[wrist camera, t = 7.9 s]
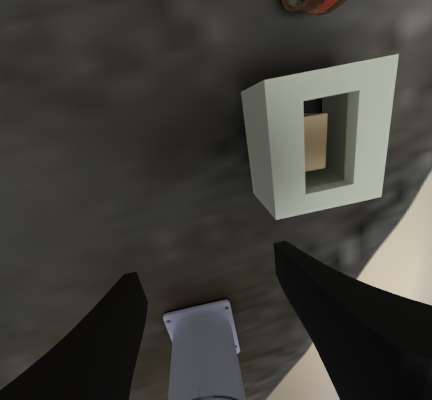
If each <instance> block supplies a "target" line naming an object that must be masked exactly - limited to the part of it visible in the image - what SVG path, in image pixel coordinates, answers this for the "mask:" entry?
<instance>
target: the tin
mask: <svg viewBox="0 0 432 400" xmlns="http://www.w3.org/2000/svg"><path fill="white" fill-rule="evenodd" d="M345 1H346V0H282V3H283V5H284V7H285V8H286V9H287V10H288V11H301V12H305V13H309V14H315V15H323V14H326V13H329V12H331V11H333V10H334V9H336V8H337V7H339V6H340V5H341V4H342V3H343V2H345Z"/></svg>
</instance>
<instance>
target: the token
mask: <svg viewBox="0 0 432 400" xmlns="http://www.w3.org/2000/svg"><path fill="white" fill-rule="evenodd" d="M327 118H328V113H315V114H304V147H305V172H306V171H311V170H317V169H322V168H325V164H326V141H327Z"/></svg>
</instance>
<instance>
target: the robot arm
mask: <svg viewBox="0 0 432 400" xmlns="http://www.w3.org/2000/svg"><path fill="white" fill-rule="evenodd" d="M274 253H275V266H276V275H277V277H278V280H279V282H280V284H281V287H282V289H283V291H284V293H285V295H286V296H287V298H288V300H289V302H290V303H291V305H292V307H293V308H294V310H295V312H296V313H297V315H298V317H299V318H300V320H301V322H302V323H303V325H304V327H305V329H306V330H307V332H308V334H309V335H310V337H311V339H312V341H313V343H314V345H315V347H316V349H317V351H318V353H319V355H320V357H321V359H322V362H323V364H324V366H325V368H326V370H327V372H328V374H329V376H330V379H331V381H332V383H333V385H334V387H335V389H336V391H337V394H338V396H339V398H340V400H432V306H431V305H428V304H424V303H421V302H418V301H414V300H411V299H407V298H405V297H401V296H398V295H395V294H392V293H390V292H387V291H384V290H381V289H379V288H376V287H373V286H371V285H368V284H366V283H363V282H361V281H359V280H356V279H354V278H352V277H349V276H347V275H345V274H343V273H341V272H339V271H337V270H335V269H333V268H331V267H329V266H327V265H325V264H323V263H322V262H320V261H318V260H316V259H314V258H313V257H311V256H309V255H308V254H306V253H304V252H303V251H301V250H299V249H298V248H296V247H295V246H293V245H291V244H290V243H288V242H286V241H282V242H277V243H274ZM147 305H148V301H147V298H146V296H145V293H144V291H143V288H142V285H141V283H140V280H139V277H138V275H137V272H133V273H128V274H124V275H123V276H122V277H121V278H120V279H119V280H118V282H117V283H116V284H115V285H114V286H113V287H112V288H111V289H110V290H109V292H108V293H107V294H106V295H105V296H104V297H103V298H102V299H101V300H100V301H99V303H98V304H97V305H96V306H95V307H94V308H93V309H92V310H91V311H90V312H89V313H88V314H87V315H86V316H85V317H84V318H83V319H82V320H81V321H80V322H79V323H78V324H77V325H76V326H75V328H73V329H72V330H71V331H70V332H69V333H68V334H67V335H66V336H65V337H64V338H63V339H62V340H61V341H60V342H59V343H57V344H56V345H55V346H54V347H53V348H52V349H51V350H50V351H48V352H47V353H46V354H45V355H44V356H43V357H41V358H40V359H39V360H38V361H36V362H35V363H34V364H33V365H32V366H30V367H29V368H28V369H27V370H26V371H24V372H23V373H22V374H21V375H19V376H18V377H17V378H16V379H14V380H13V381H12V382H10V383H9V384H8V385H7V386H5V387H4V388H3V389H1V390H0V400H129V394H130V388H131V382H132V378H133V373H134V369H135V364H136V360H137V356H138V352H139V348H140V344H141V340H142V335H143V331H144V327H145V322H146V314H147ZM163 320H164V323H165V325H166V328H167V331H168V333H169V336H170V338H171V341H172V355H171V368H170V380H169V393H168V400H246V398H245V392H244V387H243V382H242V377H241V372H240V367H239V362H238V357H237V353H239V352H240V348H239V344H238V339H237V334H236V329H235V325H234V320H233V315H232V311H231V306H230V302H229V300H221V301H217V302H212V303H208V304H204V305H199V306H195V307H191V308H186V309H182V310H178V311H173V312H169V313H166V314H164V315H163Z"/></svg>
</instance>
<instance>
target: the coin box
mask: <svg viewBox="0 0 432 400" xmlns="http://www.w3.org/2000/svg"><path fill="white" fill-rule="evenodd" d="M398 56H399V54H396V55H391V56H386V57H380V58H375V59H370V60H365V61H360V62H355V63H349V64H344V65H339V66H334V67H329V68H324V69H318V70H313V71H308V72H303V73H298V74H292V75H287V76H282V77H277V78H272V79H267V80H263V81H261V82H259V83H257V84H255V85H253V86H251V87H250V88H248V89H246V90H244V91H242V92H241V98H242V106H243V114H244V122H245V130H246V138H247V146H248V155H249V163H250V171H251V179H252V187H253V193H254V194H255V195H256V197H257V198H258V199H259V200H260V201H261V203H262V204H263V205H264V206H265V207H266V209H267V210H268V211H269V212H270V213H271V215H272V216H273V217H274V218H275V219H276V220H278V219H283V218H287V217H292V216H297V215H301V214H306V213H310V212H315V211H319V210H324V209H329V208H333V207H338V206H342V205H347V204H351V203H356V202H361V201H365V200H370V199H374V198H379V197H381V196H382V187H383V179H384V171H385V163H386V155H387V147H388V138H389V130H390V122H391V114H392V106H393V97H394V89H395V81H396V73H397V65H398ZM317 98H322V113H328V118H327V141H326V164H325V168H322V169H317V170H312V171H307V172H305V147H304V105H303V101H307V100H312V99H317Z"/></svg>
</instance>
